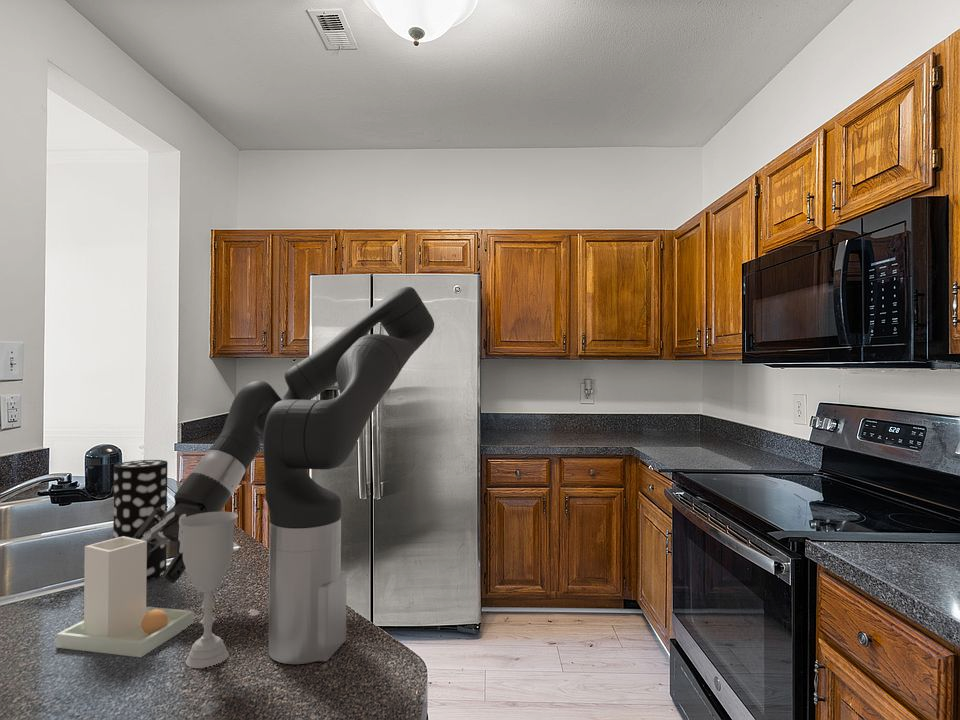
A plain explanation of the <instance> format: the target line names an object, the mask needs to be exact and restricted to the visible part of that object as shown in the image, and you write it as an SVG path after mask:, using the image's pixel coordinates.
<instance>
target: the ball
mask: <svg viewBox="0 0 960 720" xmlns="http://www.w3.org/2000/svg"><path fill="white" fill-rule="evenodd" d="M167 622H168V617H167V614H166V613H165V612H164V611H162V610H159V609H155V610H152V611H150V612H148V613H147V614H146V615H145V616H144V618H143V620H142V629H143V631H144V632H145V633H147V634H150V635H151V634H153V633H154V632H156V631H158V630H159V629H161V628H163V627H164V626H166V625H167Z"/></svg>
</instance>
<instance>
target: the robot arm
mask: <svg viewBox="0 0 960 720" xmlns="http://www.w3.org/2000/svg"><path fill="white" fill-rule="evenodd" d="M379 323H380V324H381V326H382V327H383V329H384V330H385V332H386V334H384V333H383V334H382V333H381V334H380V333H373V334H372V333H371V334H368V333H369V332H370V331H371V330H372V329H373V328H374V327H375V326H376V325H377V324H379ZM434 329H435V322H434V318H433V316H432V315H431V313H430V312H429V310H428V308H427V307H426V305H425V303H424V302H423V300H422V298H421V296H420V295H419V294H418V292H417V291H416V289H415V288H414V287H412V286H405V287H401V288H398V289H397V290H394V291H393V292H391V293H390V294H388V295H387V296H385V297H384V298H382V299H380V300H379V301H378V302H376V303H375V304H374V305H373V306H372V307H370V308H369V309H368V310H367V311H365V312H364V313H363V314H361V315H360V316H359V317H358V318H356V319H355V320H354V321H352V323H350V324H349V325H348V326H347V327H345V329H343V330H342V331H341V332H339V333H338V334H337V335H336V336H335V337H334V338H333V339H331V340H330V341H328V342H327V343H326V344H324V346H322V347H321V348H319V349H318V350H316V351H315V352H313V353H311V354H310V355H308V356H307V357H306V358H304V359H302V360H301V361H299V362H298V363H296V364H295V365H293V366H291V367H290V368H288V370H287V371H285V373H284V380H285V383H286V384H287V387H288V390H287V391H286V393H285V394H284V396H282V397H280V395H279V394H278V392H276V390H275V389H274V388H273V387H272V385H271V384H269V383H268V382H266V381H265V380H254V381H251V382H250V383H247V384H246V385H244V386H243V387H242V388H241V389H240V390H239V391H238V393H237V394H236V396H235V397H234V399H233V401H232V403H231V406H230V408H229V411H228V414H227V417H226V419H225V423H224V425H223V428H222V430H221V433H220V435H219V436H218V437H217V439H216V440H215V441H214V443H213V444H212V445H211V447H210V448H209V449H208V450H207V453H205V454H204V456H203V457H202V458H201V459H199V461H198V462H197V463H196V465H195V466H194V468H193V469H192V470H191V472H190V474H188V476H187V478H186V479H184V481H183V483H182V484H181V486H180V487H179V488H178V490H177V491H176V493H174V496H173V497H174V505H173V506H172V508H170V509H169V510H167V511H164V510H163V509H161V508H160V507H157V508H155V509H154V511H153V512H152V513H151V515H150V516H149V517H148V518H147V520H146V521H145V522H144V523H143V525H142V526H141V527H140V529H139V530H138V531H137V532H136V534H135V535H134V536H133V538H134V539H139V540H143V541H147V559H148V558H149V556H150V555H151V553H150V552H152V551H153V550H155V549H156V548H157V547H159V546H160V545H165V544H168V543H170V542H175V543H176V542H179V549H178V551H179V553H176V554H175V556H173V558H172V560H171V562H170V563H169V564H168V566H166V570H165V572H164V573H163V575H162V576H161V577H162V579H163V580H165V581H166V582H168V583H169V584H175V583H176V582H177V580H179V578H181V576H182V575H183V573H184V571H185V570H186V567H185V565H184V562H183V529H182V528H181V526H180V524H179V521H180V520H181V519H183V518H185V517H188V516H191V515H195V514H200V513H207V512H223V509H224V508H225V506H226V505H227V504H228V501H229V500H230V499H231V497H232V495H233V494H234V493H235V491H236V489H237V488H238V486H239V484H240V483H241V481H242V479H243V477H244V475H245V473H246V471H247V470H248V468H249V467H250V465H251V464H252V462H253V461H254V459H255V457H256V456H257V455H258V452H259V451H260V447H261V444H260V440H259V438H258V436H257V433H258V434H260V435H262V436H263V442H262V443H263V444H262V445H263V463H264V464H263V465H264V484H265V486H264V489H265V490H264V491H265V501H266V504H267V507H268V510H269V542H268V543H269V545H268V546H269V548H268V549H269V550H268V551H269V553H268V635H267V639H268V655H269V658H270V659H272V660H274V661H276V662H278V663H282V664H285V665H287V664H288V665H304V664H310V663H314V662H327V661H329V660H330V658H331V657H333V655H334V654H335V653H336V652H337V651H339V649H340V647H342V645H343V644H344V643H345V642H346V641H347V571H345V570H342V569H341V568H342V567H341V566H342V565H341V564H342V563H341V562H342V560H341V559H342V556H341V555H342V553H341V551H342V501H341V498H340V496H339V495H338V494H337V493H335V492H333V491H331V490H329V489H328V488H325V487H323V486H321V485H320V484H319V483H317V482H316V481H315V480H314V479H312V477H311V476H310V475H309V473H308V470H320V471H321V470H322V471H323V470H325V471H327V470H332V469H335V468H338V467H340V466H342V465H343V464H344V463H345V462H346V461H347V459H348V458H349V457H350V455H351V454H352V451H353V450H354V448H355V447H356V444H357V442H358V440H359V438H360V437H361V435H362V432H363V431H364V428H365V426H366V424H367V422H368V420H369V419H370V417H371V415H372V413H373V412H374V410H375V408H376V407H377V405H378V404H379V402H381V399H382V398H383V397H384V396H385V394H386V393H387V392H388V391H389V390H390V388H391V386H392V384H393V383H394V382H395V381H396V379H397V378H398V376H399V374H400V373H401V371H402V370H403V368H404V366H405V365H406V363H407V362H408V361H409V359H410V358H411V357H412V356H413V354H414V353H415V352H416V351H418V349H419V348H420V347H421V346H422V345H423V344H424V343H425V342H426V340H427V339H428V338H429V337H430V336H431V335H432V333H433V332H434ZM336 383H337V385H338V389H339V391H340V394H339V395H338V396H336V397H334V398H331V399H314V398H316V397H317V396H318V395H321V394H322V393H323V392H324V391H326V390H328V389H329V388H331V387H332V386H335V384H336ZM256 432H257V433H256ZM147 529H148V530H149V531H150V532H149V533H148V534H147V535H145V536H143V535H144V533H145V532H146V531H147ZM162 529H163V534H162V533H161V532H159V531H161V530H162ZM154 538H155V539H157V540H155V541H154V542H152V543H151V541H152V540H153V539H154Z"/></svg>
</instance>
